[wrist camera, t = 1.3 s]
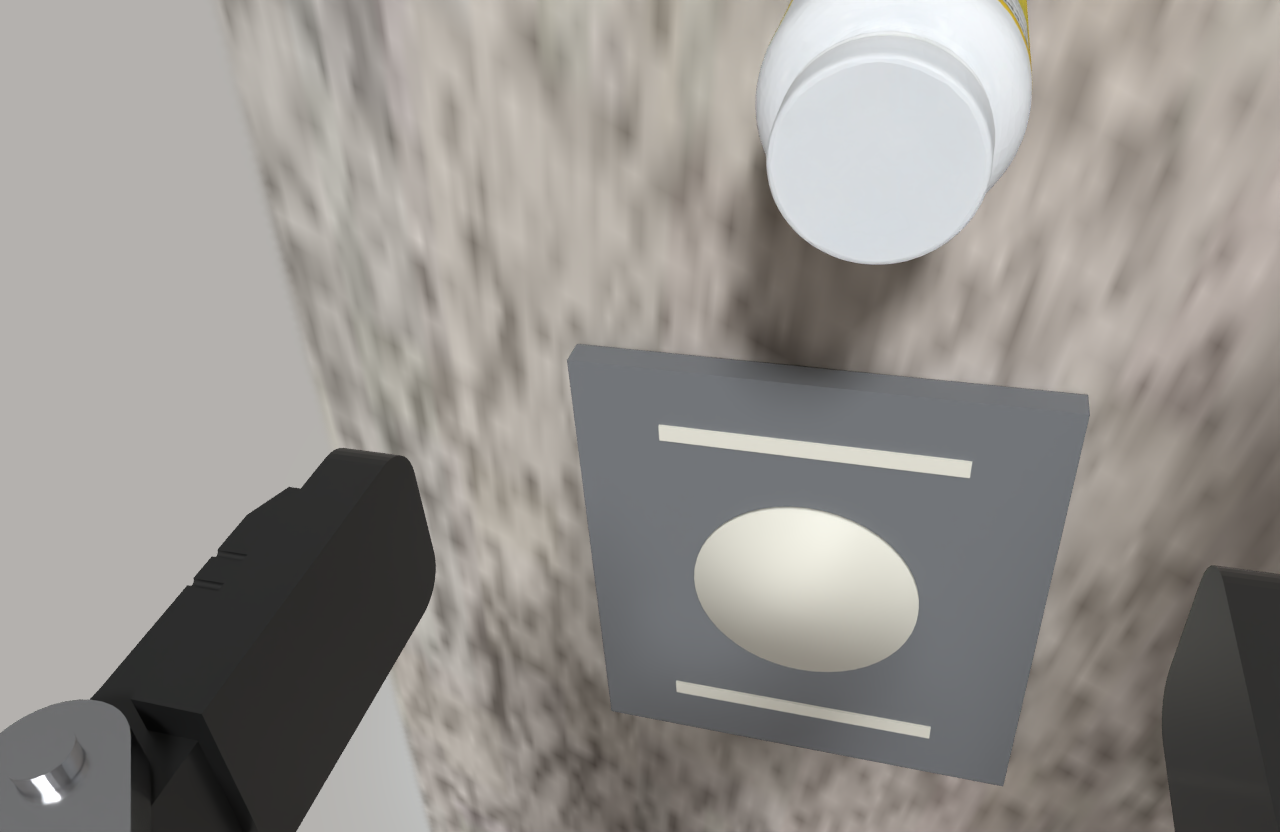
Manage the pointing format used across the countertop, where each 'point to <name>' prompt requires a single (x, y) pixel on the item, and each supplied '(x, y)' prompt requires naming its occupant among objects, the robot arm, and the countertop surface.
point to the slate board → (823, 550)
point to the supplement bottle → (891, 119)
